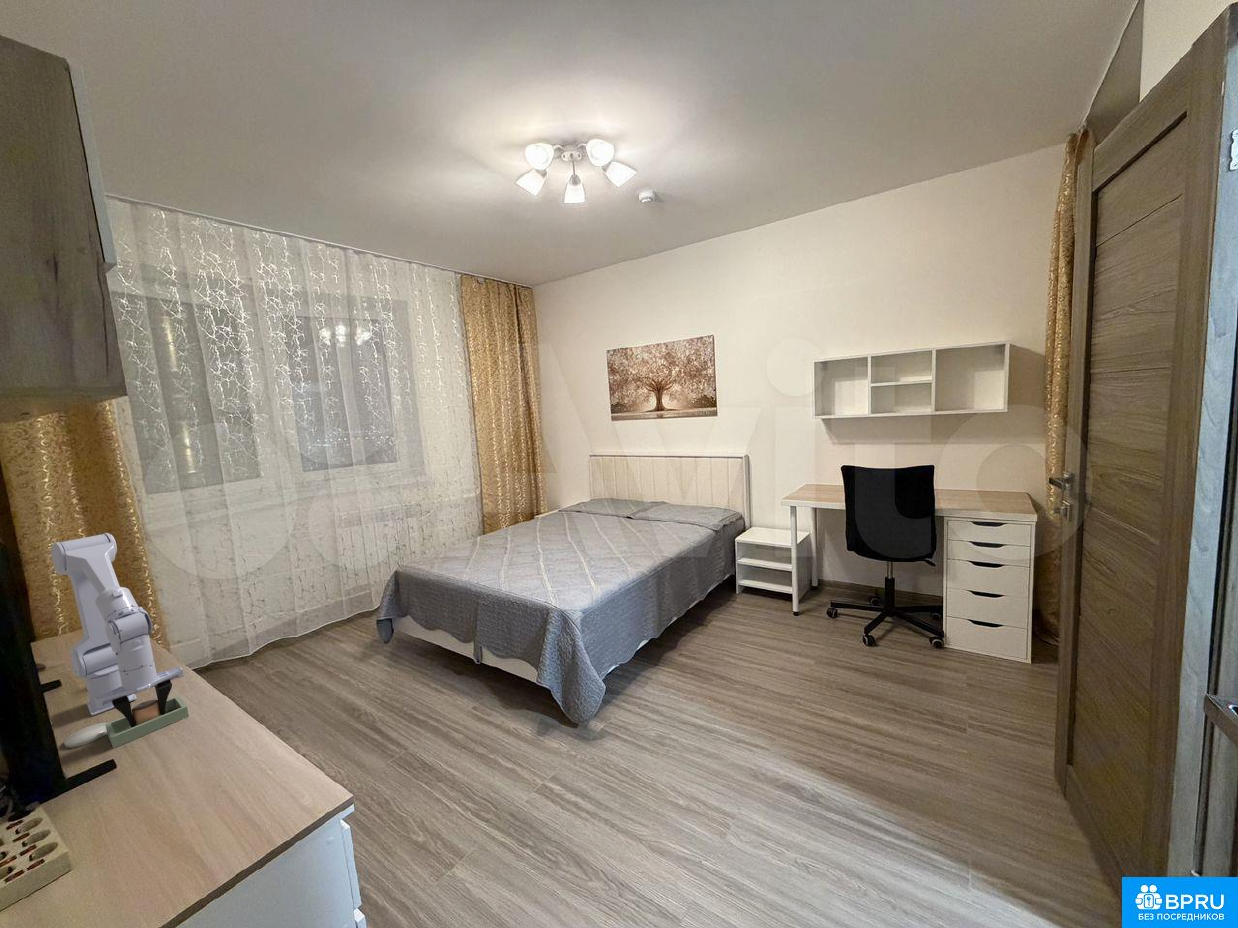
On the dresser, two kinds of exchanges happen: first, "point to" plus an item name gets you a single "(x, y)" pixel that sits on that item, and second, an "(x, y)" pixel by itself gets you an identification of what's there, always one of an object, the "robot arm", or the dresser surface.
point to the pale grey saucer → (86, 735)
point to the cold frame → (146, 723)
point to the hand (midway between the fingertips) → (147, 719)
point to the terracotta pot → (146, 711)
